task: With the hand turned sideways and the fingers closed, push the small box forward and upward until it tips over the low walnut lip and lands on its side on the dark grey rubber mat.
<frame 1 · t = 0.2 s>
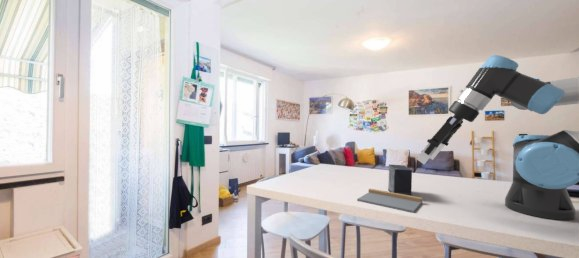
hand: (425, 159, 83), 15 cm above the table, tool tilted 35°, fingers open, 13 cm apart
grey mat: (389, 201, 84), on the table
small box: (399, 194, 93), on the table
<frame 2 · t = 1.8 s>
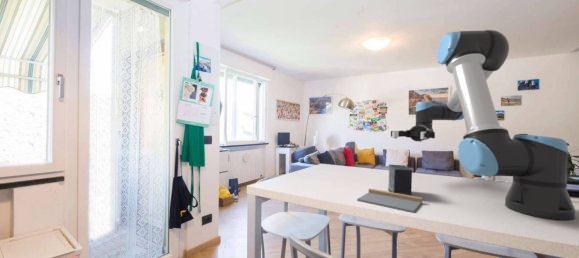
hand: (406, 135, 100), 22 cm above the table, tool horizontal, fingers open, 10 cm apart
nothing on the table moved.
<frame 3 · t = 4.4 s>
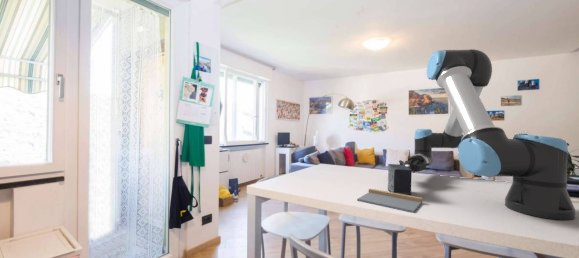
hand: (403, 170, 97), 8 cm above the table, tool horizontal, fingers closed
small box: (399, 194, 93), on the table, touching grey mat, gripper
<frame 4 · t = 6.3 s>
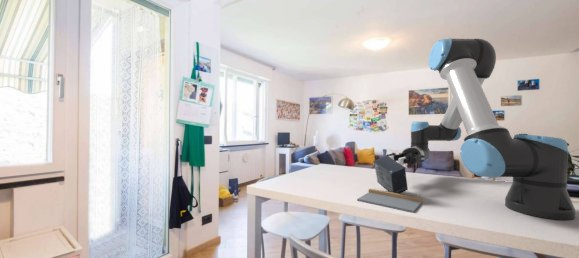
hand: (392, 161, 95), 12 cm above the table, tool horizontal, fingers open, 4 cm apart
small box: (392, 186, 94), point 3 cm above the table, touching grey mat, gripper
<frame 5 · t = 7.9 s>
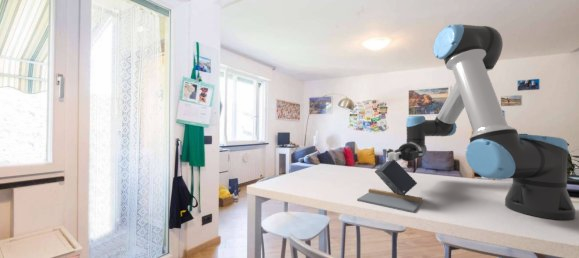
hand: (391, 157, 86), 15 cm above the table, tool horizontal, fingers closed, pressing on small box
small box: (390, 176, 91), point 7 cm above the table, touching grey mat, gripper
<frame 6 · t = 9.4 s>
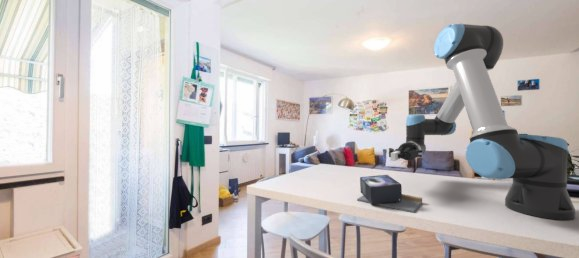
hand: (392, 156, 86), 15 cm above the table, tool horizontal, fingers closed
small box: (373, 182, 90), point 5 cm above the table, touching grey mat
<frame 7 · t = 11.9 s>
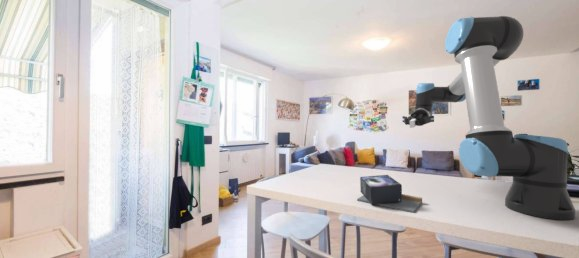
hand: (411, 124, 96), 27 cm above the table, tool horizontal, fingers closed
nothing on the table moved.
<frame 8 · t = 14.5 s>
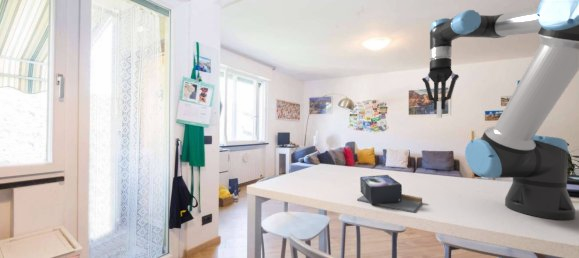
hand: (439, 117, 100), 29 cm above the table, tool pointing down, fingers closed
nothing on the table moved.
at the end: small box tilted 97°; small box touching grey mat; small box inside the target area (6.5 cm from its centre), point 4.9 cm above the table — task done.
